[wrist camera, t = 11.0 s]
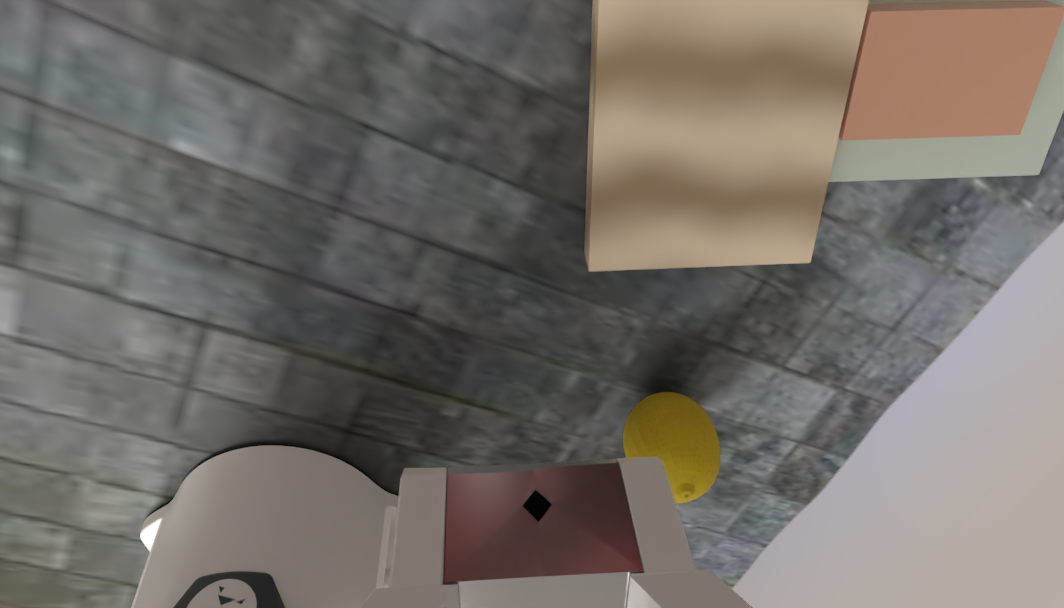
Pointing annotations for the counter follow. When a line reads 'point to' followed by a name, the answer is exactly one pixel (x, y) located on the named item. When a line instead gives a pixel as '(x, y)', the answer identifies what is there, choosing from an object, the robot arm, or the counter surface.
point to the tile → (948, 68)
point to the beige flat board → (713, 129)
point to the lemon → (675, 441)
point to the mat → (963, 138)
